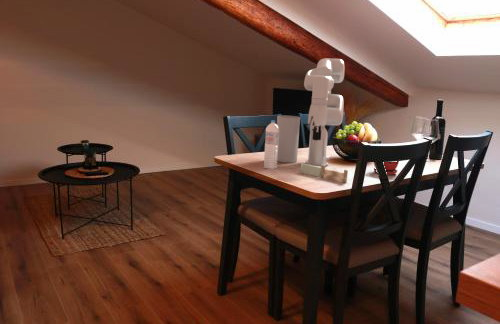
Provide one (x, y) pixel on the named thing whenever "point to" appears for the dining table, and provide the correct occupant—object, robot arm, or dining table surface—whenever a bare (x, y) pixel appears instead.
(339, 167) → the dining table surface
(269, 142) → the water bottle
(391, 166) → the plant pot
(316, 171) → the bar
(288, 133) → the cylinder vase
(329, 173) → the fence fixed
